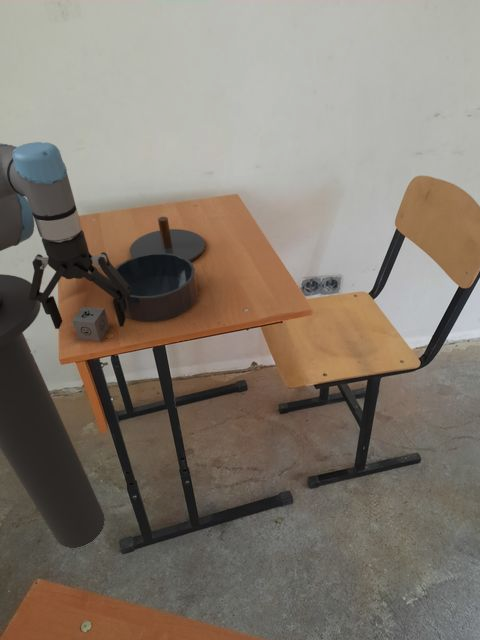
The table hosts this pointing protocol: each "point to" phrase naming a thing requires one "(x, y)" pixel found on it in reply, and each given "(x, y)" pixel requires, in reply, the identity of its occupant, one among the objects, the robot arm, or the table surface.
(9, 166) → the robot arm
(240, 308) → the table surface
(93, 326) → the dice cube
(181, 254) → the lid
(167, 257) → the pot
